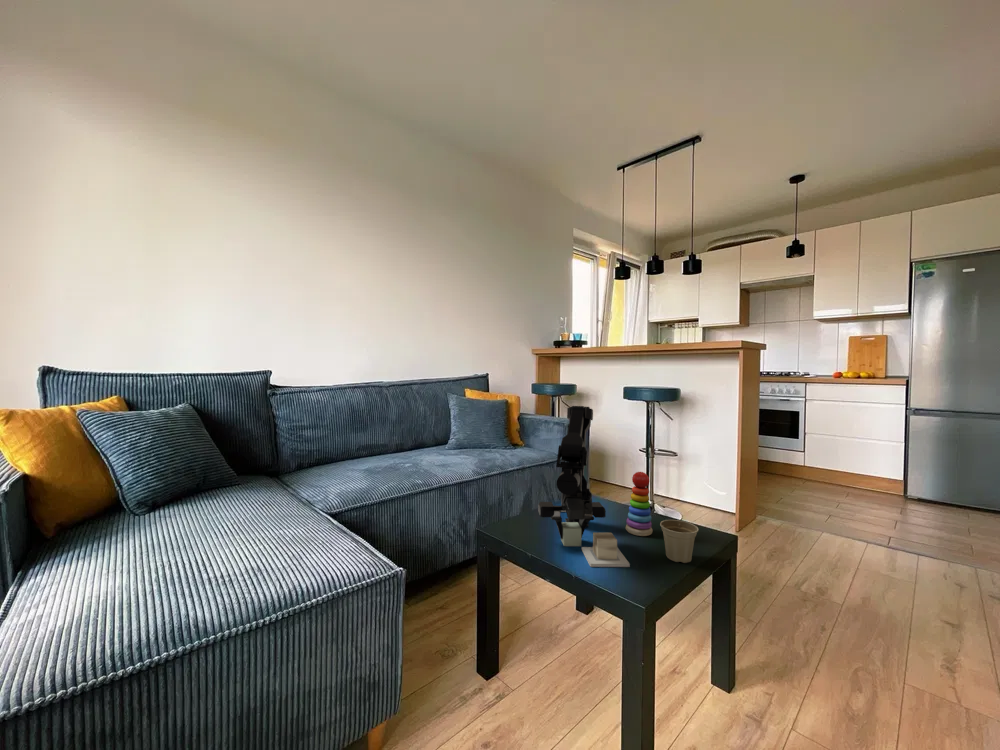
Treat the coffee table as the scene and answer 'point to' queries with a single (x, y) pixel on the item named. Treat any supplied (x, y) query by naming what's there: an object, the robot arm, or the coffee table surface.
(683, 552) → the flower pot
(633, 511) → the stacking toy
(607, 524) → the coffee table surface
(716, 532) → the coffee table surface
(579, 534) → the block sage
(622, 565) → the plate
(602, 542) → the block birch
